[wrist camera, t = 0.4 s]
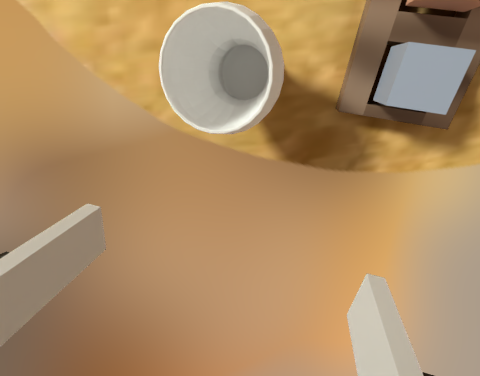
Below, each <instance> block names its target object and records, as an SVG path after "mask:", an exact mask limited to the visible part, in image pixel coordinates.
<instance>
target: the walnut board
mask: <svg viewBox="0 0 480 376" xmlns="http://www.w3.org/2000/svg"><path fill="white" fill-rule="evenodd" d="M401 1H402V0H366V4H365V7H364V11H363V14H362V18H361V21H360V25H359V28H358V32H357V35H356V39H355V42H354V46H353V49H352V53H351V56H350V60H349V63H348V67H347V70H346V74H345V77H344V81H343V84H342V88H341V91H340V95H339V98H338V102H337V105H336V109H337V110H338V111H339V112H345V113H351V114H357V115H363V116H369V117H375V118H381V119H387V120H394V121H400V122H406V123H412V124H418V125H424V126H430V127H436V128H442V129H448V127H449V125H450V123H451V121H452V119H453V117H454V115H455V113H456V111H457V109H458V107H459V105H460V103H461V100H462V98H463V96H464V94H465V92H466V90H467V88H468V86H469V84H470V82H471V80H472V78H473V76H474V74H475V72H476V70H477V68H478V66H479V64H480V7H477V8H474V9H471V10H469V11H466V12H460V11H457V12H456V14H455V17H447V16H438V15H429V14H420V13H411V12H402V11H398V10H399V7H400V4H401ZM407 42H415V43H423V44H431V45H439V46H447V47H455V48H463V49H471V50H476V52H475V54H474V56H473V58H472V61H471V63H470V65H469V67H468V69H467V71H466V73H465V75H464V77H463V79H462V82H461V84H460V86H459V88H458V90H457V92H456V94H455V96H454V98H453V101H452V103H451V105H450V107H449V109H448V111H447V113H446V115H444V114H437V113H431V112H425V111H418V110H412V109H406V108H400V107H393V106H387V105H381V104H375V103H369V102H368V99H369V96H370V93H371V90H372V87H373V84H374V81H375V78H376V75H377V72H378V69H379V66H380V63H381V60H382V57H383V54H384V51H385V48H386V45H387V44H388V45H399V44H403V43H407Z"/></svg>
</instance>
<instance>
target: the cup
mask: <svg viewBox="0 0 480 376" xmlns="http://www.w3.org/2000/svg"><path fill="white" fill-rule="evenodd" d="M159 72H160V79H161V85H162V88H163V90H164V93H165V96H166V98H167V100H168V102H169V103H170V105H171V107H172V108H173V110H174V111H175V112H176V113H177V114H178V115H179V116H180V117H181V118H182V119H183V120H184V121H185V122H186V123H187V124H189V125H191V126H192V127H194V128H196V129H197V130H201V131H204V132H207V133H211V134H234V133H238V132H242V131H246V130H248V129H249V128H251V127H253V126H255V125H256V124H258V123H259V122H260V121H261V120H262V119H263V118H264V117H265V116H266V115H267V114H268V113H269V112H270V111H271V109H272V108H273V106H274V104H275V102H276V101H277V99H278V97H279V95H280V91H281V88H282V85H283V81H284V61H283V56H282V51H281V47H280V45H279V43H278V41H277V39H276V37H275V35H274V33H273V31H272V29H271V28H270V27H269V26H268V25H267V24H266V22H265V21H264V20H263V19H262V18H261V17H260V16H259V15H258V14H257V13H255V12H253V11H252V10H250V9H248V8H247V7H245V6H243V5H239V4H235V3H231V2H217V3H207V4H201V5H198V6H196V7H194V8H192V9H189V10H187V11H186V12H185V13H183V14H182V15H181V16H180V17H179V18H178V19H177V20H175V21H174V23H173V24H172V26H171V28H170V29H169V31H168V32H167V34H166V35H165V38H164V41H163V45H162V48H161V51H160V61H159Z"/></svg>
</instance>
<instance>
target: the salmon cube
mask: <svg viewBox="0 0 480 376" xmlns="http://www.w3.org/2000/svg"><path fill="white" fill-rule="evenodd" d="M405 6H414V7H423V8H432V9H442V10H451V11H460V12H466V11H469V10H471V9H474V8H477V7H480V0H407V2H406V5H405Z"/></svg>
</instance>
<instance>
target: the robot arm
mask: <svg viewBox="0 0 480 376" xmlns="http://www.w3.org/2000/svg"><path fill="white" fill-rule="evenodd" d="M104 250H106V245H105V237H104V229H103V221H102V213H101V207H99V206H95V205H91V204H86V205H84V206H83V207H81V208H80V209H78V210H76V211H75V212H73V213H72V214H70V215H69V216H67V217H65V218H64V219H62V220H61V221H59V222H57V223H56V224H54V225H53V226H51V227H50V228H48V229H46V230H45V231H44V232H42V233H40V234H38V235H37V236H35V237H34V238H32V239H30V240H29V241H28V242H26V243H24V244H23V245H21V246H19V247H18V248H16V249H15V250H13V251H11V252H10V253H9V252H5V253H2V254H0V346H2V345H3V344H4V343H5V342H6V341H7V340H8V339H9V338H10V337H11V336H12V335H14V334H15V333H16V332H17V331H18V330H19V329H20V328H21V327H22V326H23V325H24V324H25V323H27V321H29V320H30V319H31V318H32V317H33V316H34V315H35V314H36V313H37V312H38V311H40V309H42V308H43V307H44V306H45V305H46V304H47V303H48V302H49V301H50V300H51V299H52V298H54V297H55V296H56V295H57V294H58V293H59V292H60V291H61V290H62V289H63V288H64V287H65V286H67V285H68V284H69V283H70V282H71V281H72V280H73V279H74V278H75V277H76V276H77V275H78V274H80V273H81V272H82V271H83V270H84V269H85V268H86V267H87V266H88V265H89V264H90V263H91V262H92V261H94V260H95V259H96V258H97V257H98V256H99V255H100V254H101V253H102V252H103V251H104ZM347 319H348V324H349V330H350V335H351V341H352V346H353V351H354V357H355V362H356V368H357V374H358V376H434V375H430V374H427V373H423V372H422V371H421V368H420V366H419V363H418V361H417V358H416V356H415V353H414V350H413V348H412V345H411V343H410V340H409V338H408V335H407V333H406V330H405V328H404V325H403V323H402V320H401V317H400V315H399V312H398V310H397V307H396V305H395V302H394V300H393V297H392V295H391V292H390V290H389V287H388V285H387V282H386V280H385V278H383V277H379V276H375V275H371V274H366V276H365V278H364V280H363V282H362V285H361V286H360V289H359V291H358V293H357V295H356V297H355V299H354V301H353V303H352V305H351V307H350V309H349V312H348V314H347Z"/></svg>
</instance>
